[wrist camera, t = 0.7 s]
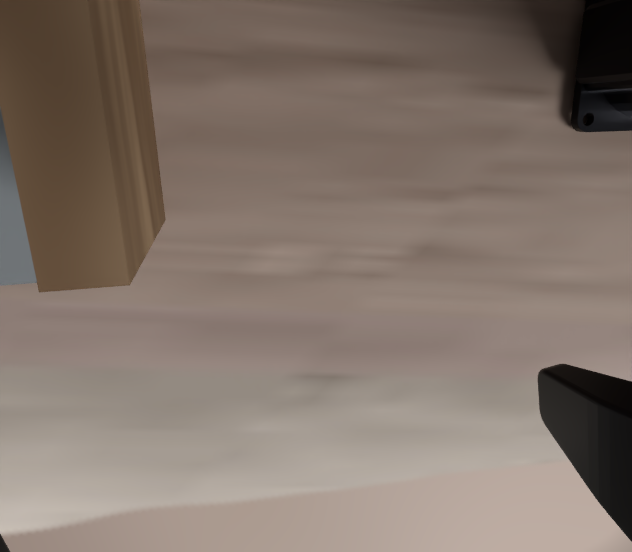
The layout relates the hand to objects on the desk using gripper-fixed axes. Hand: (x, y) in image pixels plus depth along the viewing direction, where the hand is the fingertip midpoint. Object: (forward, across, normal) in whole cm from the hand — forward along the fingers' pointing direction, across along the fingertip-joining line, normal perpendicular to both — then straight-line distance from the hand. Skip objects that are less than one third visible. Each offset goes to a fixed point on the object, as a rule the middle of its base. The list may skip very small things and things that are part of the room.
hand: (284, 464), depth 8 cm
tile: (+13, +3, -6) cm, 15 cm away
